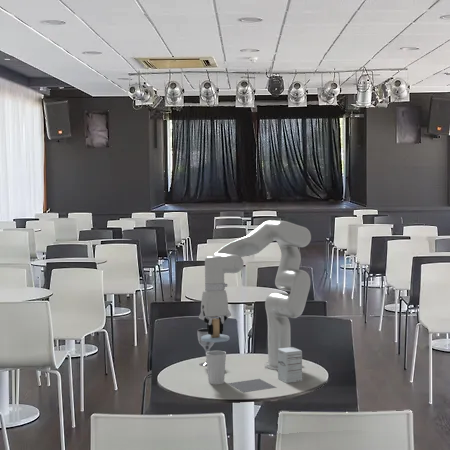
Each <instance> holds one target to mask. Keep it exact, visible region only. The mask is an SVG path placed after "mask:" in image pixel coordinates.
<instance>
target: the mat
mask: <svg viewBox="0 0 450 450" xmlns="http://www.w3.org/2000/svg"><path fill="white" fill-rule="evenodd" d="M227 384H228V385H229V386H231V387H233V388H235V389H237V390H239V391H240V392H243V393H250V392H255V391H262V390H263V391H264V390H269V389H277V387H276V386H275V385H273V384H271V383H270V382H266V381H265V380H263V379H260V378H257V379H249V380H241V381H236V382H229V383H228V382H227Z"/></svg>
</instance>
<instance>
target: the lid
mask: <svg viewBox="0 0 450 450" xmlns="http://www.w3.org/2000/svg"><path fill="white" fill-rule="evenodd" d="M212 325H213V335H210V334H208V335H204V336H202V337H201V340H202V341H205V342H215V343H224V342H227V341H230V336H229V335H227V334H223V333H222V334H220V319H218V317H217V318H215V317H212Z"/></svg>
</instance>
